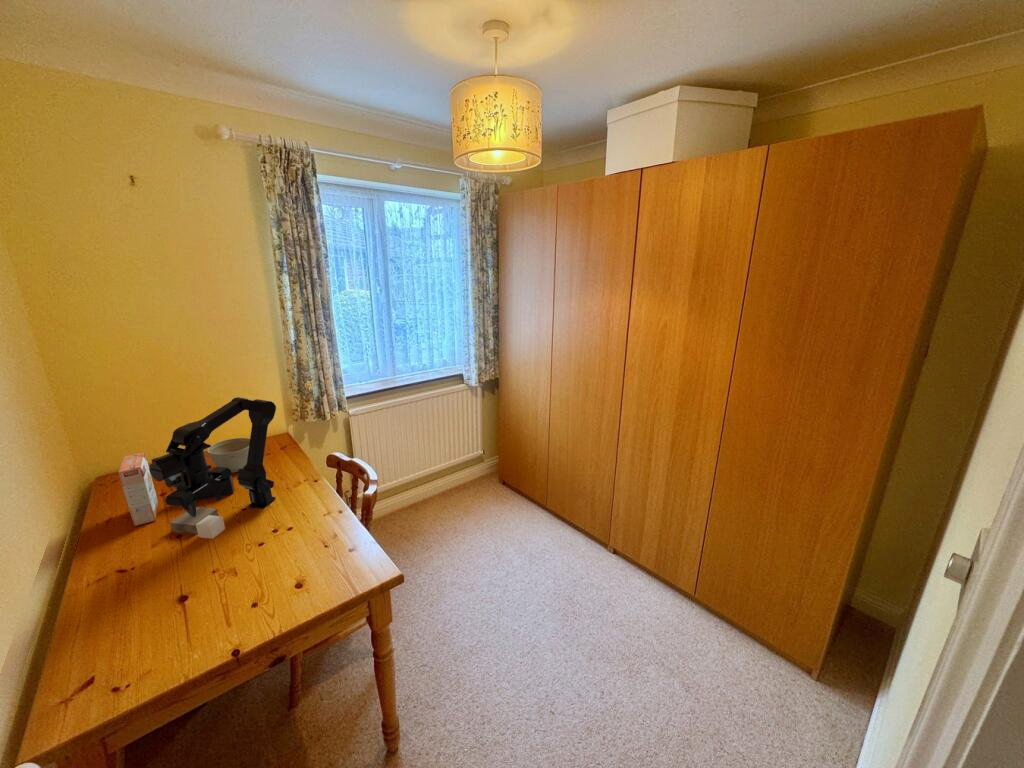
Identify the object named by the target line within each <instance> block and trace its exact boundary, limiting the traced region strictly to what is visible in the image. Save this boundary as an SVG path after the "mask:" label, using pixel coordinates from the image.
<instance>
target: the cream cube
mask: <svg viewBox="0 0 1024 768" xmlns="http://www.w3.org/2000/svg"><path fill="white" fill-rule="evenodd" d="M196 528H197V532H198V534H197V535H198V538H201V539H202V538H203V539H212V540H213V539H214V538H216V537H217V536H218V535H219V534H221V533H222V532H224V530H226V526H225V522H224V518H223V516H221V515H219V516H212V515H208V516H207V517H205V518H204V519H203V520H201V521H200V522H198V523H197V524H196Z"/></svg>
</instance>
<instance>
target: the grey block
mask: <svg viewBox="0 0 1024 768" xmlns="http://www.w3.org/2000/svg"><path fill="white" fill-rule="evenodd" d="M208 515H212V516H220V515H219V512H218V508H211V507H209V508H208V507H199V506H196V517H191V516H190V514H189V513H188V512H187V511H185V512H184V513H182V514H180V515H179V516H178V517H176V518H175V519H173V520H171V521H170V522H169V525H170V528H171V532H172V533H178V534H187V535H188V534H189V535H198V532H197V528H196V524H197V523H198V522H200V521H201V520H203V519H204V518H205V517H207V516H208Z"/></svg>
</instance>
